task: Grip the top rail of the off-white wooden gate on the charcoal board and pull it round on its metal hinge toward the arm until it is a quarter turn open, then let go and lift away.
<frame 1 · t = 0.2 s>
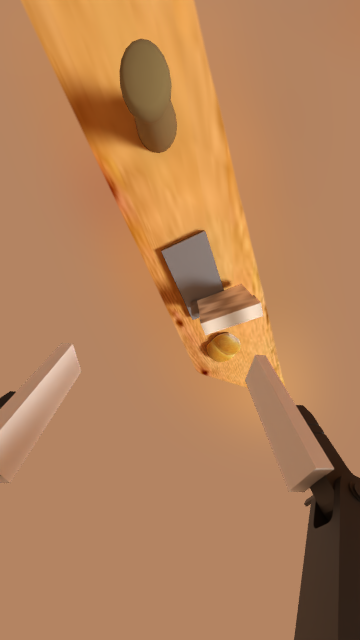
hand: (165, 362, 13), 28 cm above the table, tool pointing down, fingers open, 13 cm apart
bread roll: (222, 343, 48), on the table
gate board: (197, 279, 38), on the table
gate: (220, 307, 34), point 7 cm above the table, hinge at 0.0°
olive mushroom: (156, 125, 26), on the table
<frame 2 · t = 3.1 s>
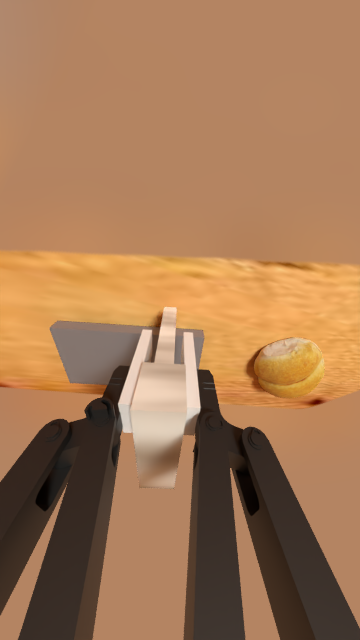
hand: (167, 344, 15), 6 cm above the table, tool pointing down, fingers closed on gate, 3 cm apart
bread roll: (281, 360, 24), on the table
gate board: (133, 354, 23), on the table
gate: (164, 392, 15), point 7 cm above the table, hinge at -0.2°, touching gripper
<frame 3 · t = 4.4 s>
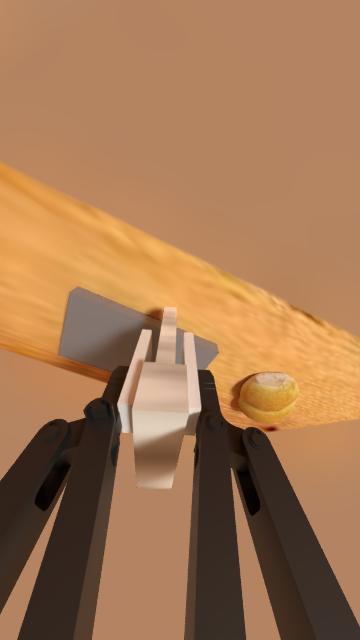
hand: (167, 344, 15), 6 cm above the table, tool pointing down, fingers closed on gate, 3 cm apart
bread roll: (262, 388, 27), on the table
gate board: (140, 345, 22), on the table
gate: (162, 392, 15), point 7 cm above the table, hinge at 20.6°, touching gripper
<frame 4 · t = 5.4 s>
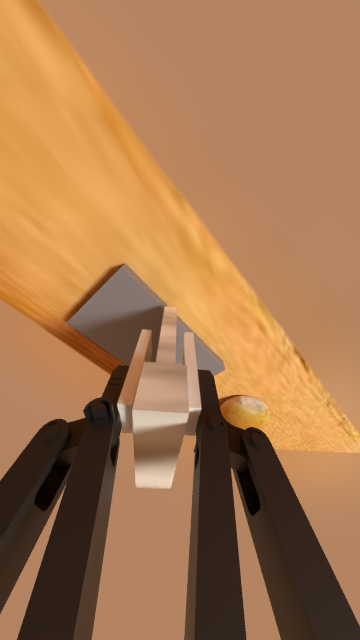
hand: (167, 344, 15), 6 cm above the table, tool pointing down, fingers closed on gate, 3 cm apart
bread roll: (237, 408, 30), on the table
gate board: (154, 340, 21), on the table
gate: (162, 392, 15), point 7 cm above the table, hinge at 42.9°, touching gripper
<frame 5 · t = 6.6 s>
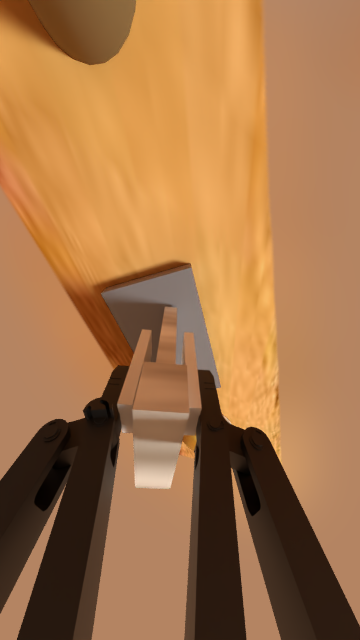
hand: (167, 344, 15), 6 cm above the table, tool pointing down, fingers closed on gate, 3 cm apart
bread roll: (204, 421, 32), on the table
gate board: (171, 340, 22), on the table
gate: (162, 392, 15), point 7 cm above the table, hinge at 67.3°, touching gripper
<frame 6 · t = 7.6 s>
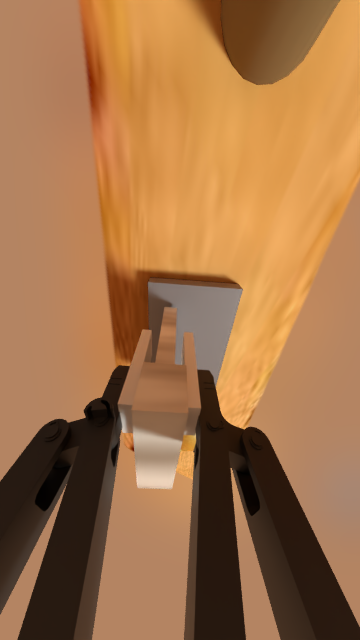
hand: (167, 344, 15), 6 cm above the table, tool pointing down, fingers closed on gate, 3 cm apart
bread roll: (177, 425, 33), on the table
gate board: (186, 345, 22), on the table
gate: (163, 392, 15), point 7 cm above the table, hinge at 88.7°, touching gripper
olive mushroom: (274, 2, 10), on the table
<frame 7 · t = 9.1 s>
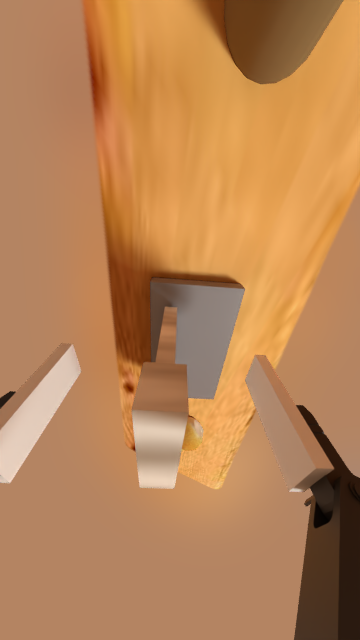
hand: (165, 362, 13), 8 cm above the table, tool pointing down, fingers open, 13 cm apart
bread roll: (178, 425, 32), on the table
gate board: (188, 345, 22), on the table
gate: (164, 392, 15), point 7 cm above the table, hinge at 89.6°
olive mushroom: (278, 1, 10), on the table
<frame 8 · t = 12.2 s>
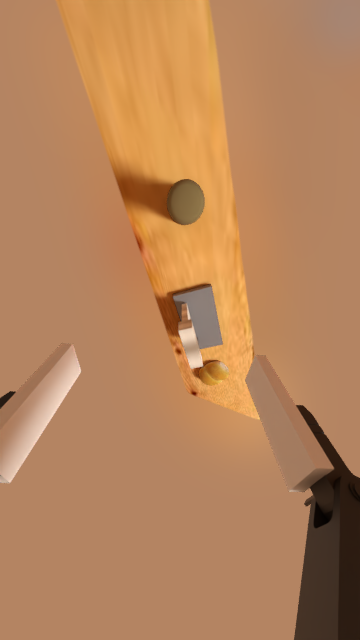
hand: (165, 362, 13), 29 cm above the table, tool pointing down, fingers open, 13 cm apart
bread roll: (213, 369, 54), on the table
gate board: (199, 319, 44), on the table
gate: (191, 337, 38), point 7 cm above the table, hinge at 89.6°
olive mushroom: (184, 206, 32), on the table
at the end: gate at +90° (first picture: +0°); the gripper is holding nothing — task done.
